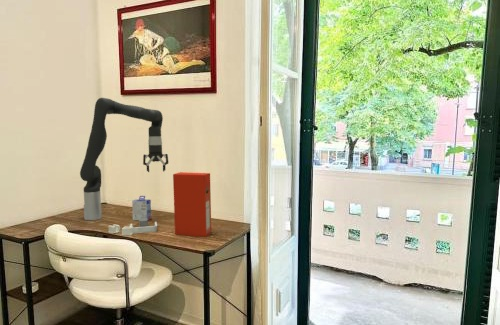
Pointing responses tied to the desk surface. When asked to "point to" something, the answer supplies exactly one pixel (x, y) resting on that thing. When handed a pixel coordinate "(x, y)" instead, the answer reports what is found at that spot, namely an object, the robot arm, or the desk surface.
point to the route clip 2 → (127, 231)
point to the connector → (143, 222)
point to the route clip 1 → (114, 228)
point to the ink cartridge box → (141, 208)
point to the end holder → (144, 229)
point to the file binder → (192, 204)
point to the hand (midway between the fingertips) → (156, 171)
